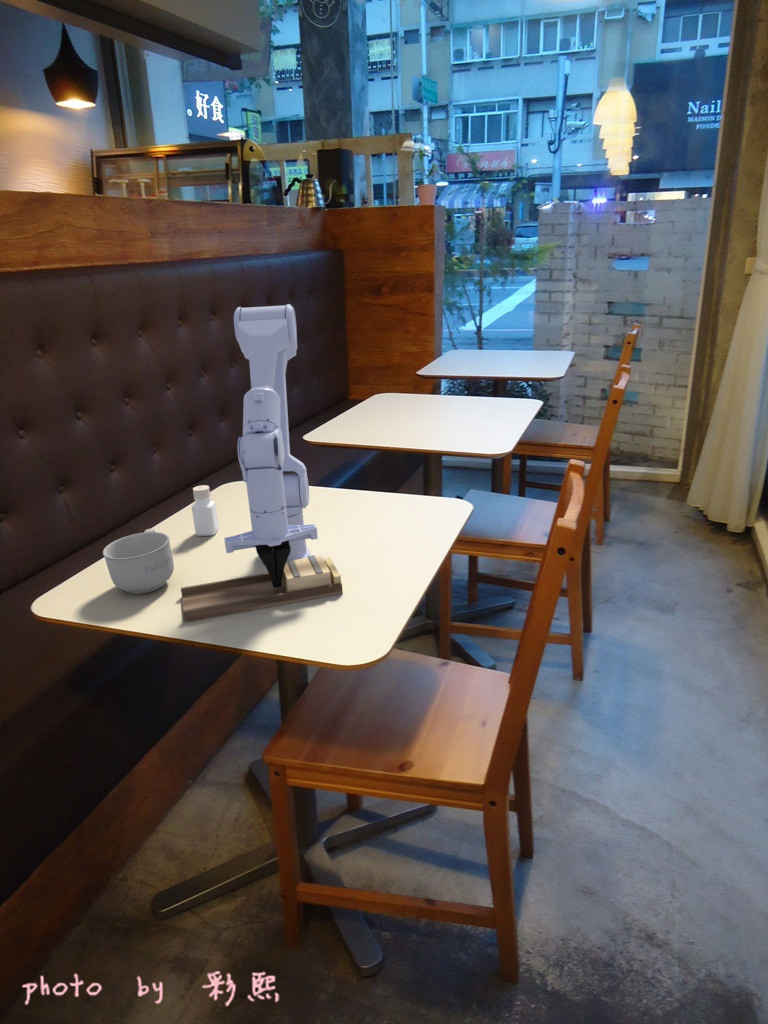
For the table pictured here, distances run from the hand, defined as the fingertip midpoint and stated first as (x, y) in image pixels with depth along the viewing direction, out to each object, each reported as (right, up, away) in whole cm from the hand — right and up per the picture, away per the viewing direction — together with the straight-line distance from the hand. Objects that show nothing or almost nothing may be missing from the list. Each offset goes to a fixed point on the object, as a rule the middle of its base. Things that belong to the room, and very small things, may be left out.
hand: (276, 584), depth 122 cm
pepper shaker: (-18, +7, +27) cm, 33 cm away
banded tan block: (+5, -1, +2) cm, 5 cm away
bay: (-2, -2, 0) cm, 3 cm away
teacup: (-23, 0, +7) cm, 24 cm away
